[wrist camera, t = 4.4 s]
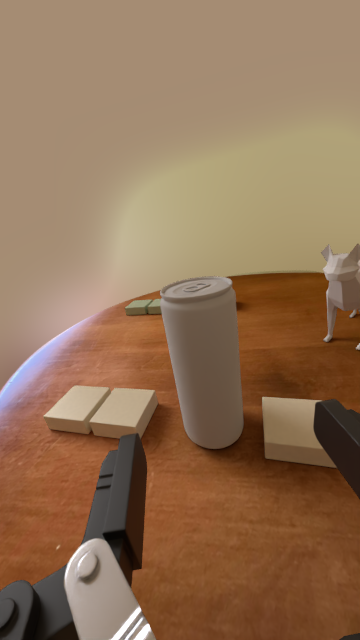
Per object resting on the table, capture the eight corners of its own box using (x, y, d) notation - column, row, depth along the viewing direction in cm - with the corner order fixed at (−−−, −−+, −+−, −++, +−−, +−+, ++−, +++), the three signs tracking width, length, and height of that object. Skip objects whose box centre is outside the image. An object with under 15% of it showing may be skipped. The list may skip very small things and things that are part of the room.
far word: (124, 316, 48) (122, 309, 47) (137, 306, 53) (135, 299, 53) (232, 312, 41) (232, 303, 41) (235, 300, 47) (234, 292, 46)
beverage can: (173, 429, 20) (143, 292, 15) (212, 398, 23) (196, 273, 18) (216, 467, 16) (193, 303, 12) (257, 425, 19) (251, 278, 14)
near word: (49, 429, 22) (42, 416, 22) (79, 396, 26) (74, 385, 25) (338, 468, 15) (341, 451, 14) (321, 416, 19) (322, 400, 18)
